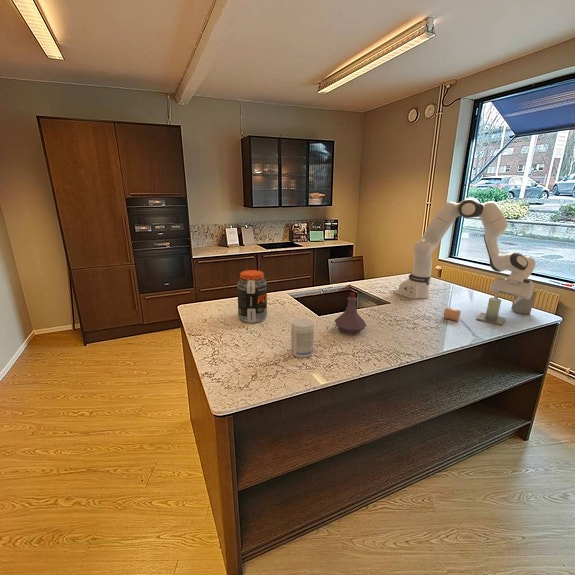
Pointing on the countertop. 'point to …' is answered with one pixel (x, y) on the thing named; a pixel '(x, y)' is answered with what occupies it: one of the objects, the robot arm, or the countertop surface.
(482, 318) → the plate
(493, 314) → the pale green rounded cylinder
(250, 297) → the supplement tub
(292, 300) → the countertop surface
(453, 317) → the tan rounded cylinder
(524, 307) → the perfume bottle
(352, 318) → the flask
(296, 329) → the supplement tub
